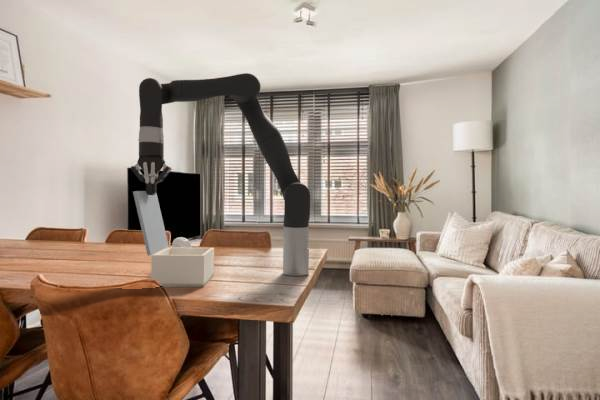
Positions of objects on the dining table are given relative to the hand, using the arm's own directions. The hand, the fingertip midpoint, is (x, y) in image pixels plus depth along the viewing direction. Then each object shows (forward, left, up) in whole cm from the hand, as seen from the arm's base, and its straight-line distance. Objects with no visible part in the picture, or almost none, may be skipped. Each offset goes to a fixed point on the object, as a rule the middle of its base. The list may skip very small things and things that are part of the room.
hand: (151, 195), depth 117 cm
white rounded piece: (-5, -17, -29) cm, 34 cm away
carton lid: (-1, 0, -8) cm, 8 cm away
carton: (-11, 0, -28) cm, 30 cm away
